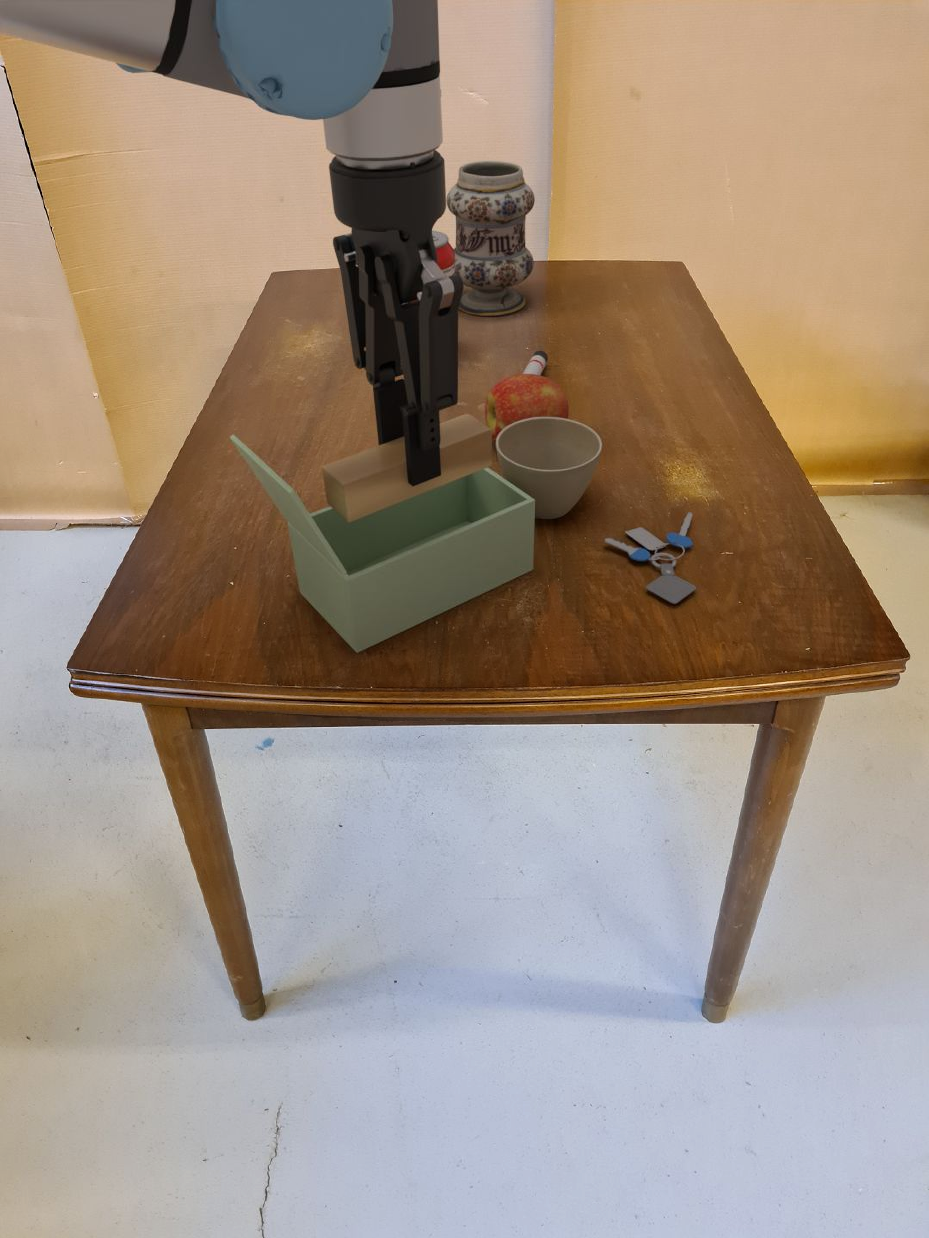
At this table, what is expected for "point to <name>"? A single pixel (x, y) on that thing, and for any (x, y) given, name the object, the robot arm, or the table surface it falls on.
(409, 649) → the table surface
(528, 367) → the marker
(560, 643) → the table surface
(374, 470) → the birch block
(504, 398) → the apple
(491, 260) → the apothecary jar
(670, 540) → the key chain
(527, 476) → the flower pot
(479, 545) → the carton
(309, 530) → the flap
